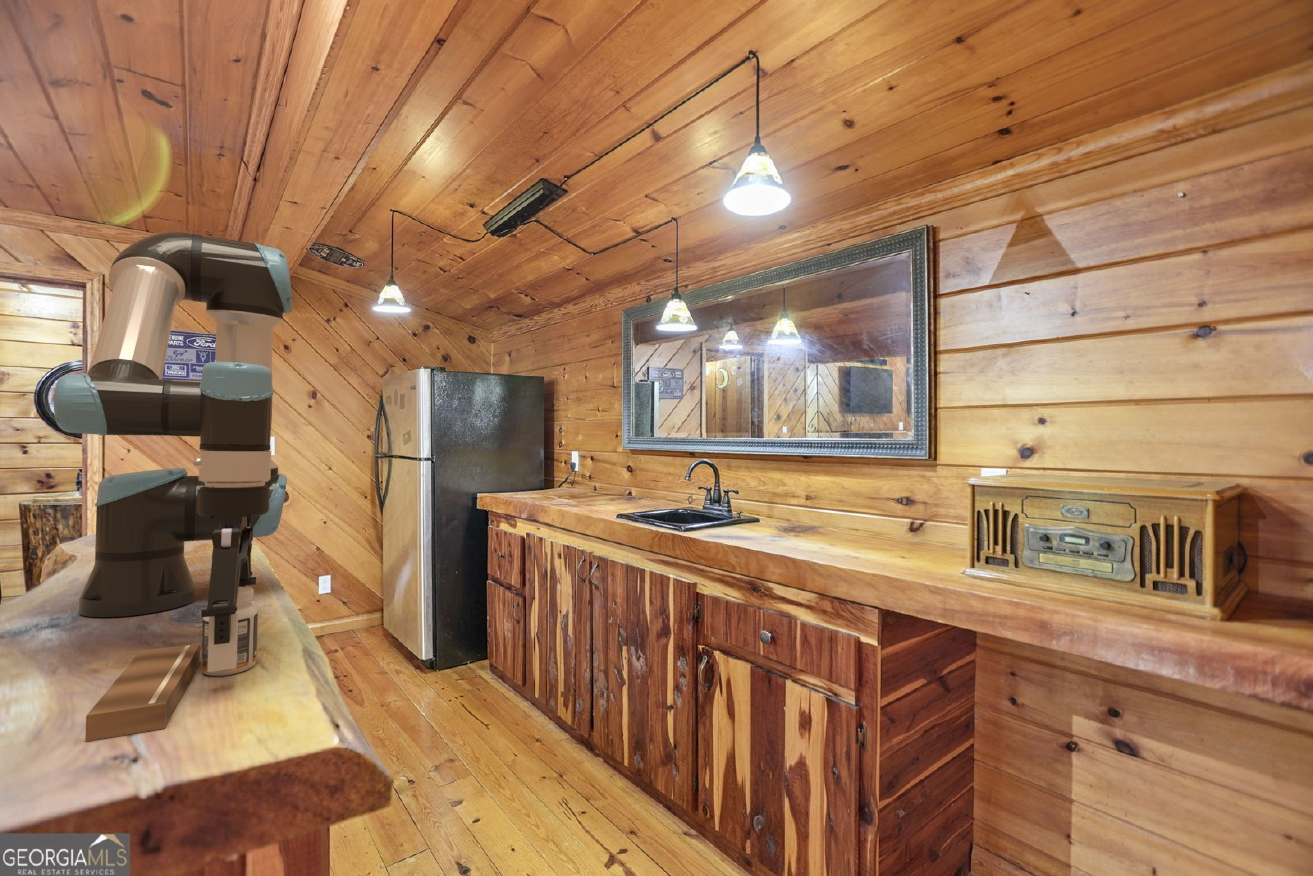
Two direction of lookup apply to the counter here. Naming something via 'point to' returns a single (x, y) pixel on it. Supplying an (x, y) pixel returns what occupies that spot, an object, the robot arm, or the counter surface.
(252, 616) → the pill bottle
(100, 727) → the plank
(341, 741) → the counter surface
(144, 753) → the counter surface
